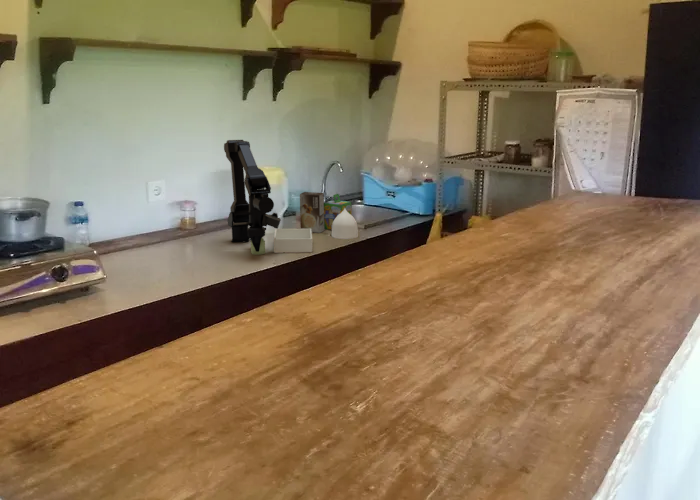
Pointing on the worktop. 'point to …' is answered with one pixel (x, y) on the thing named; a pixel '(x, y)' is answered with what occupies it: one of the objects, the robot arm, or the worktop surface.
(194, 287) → the worktop surface
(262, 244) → the salad portion
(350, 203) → the chalk box
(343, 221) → the teardrop
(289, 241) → the serving bin
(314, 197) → the coffee box
